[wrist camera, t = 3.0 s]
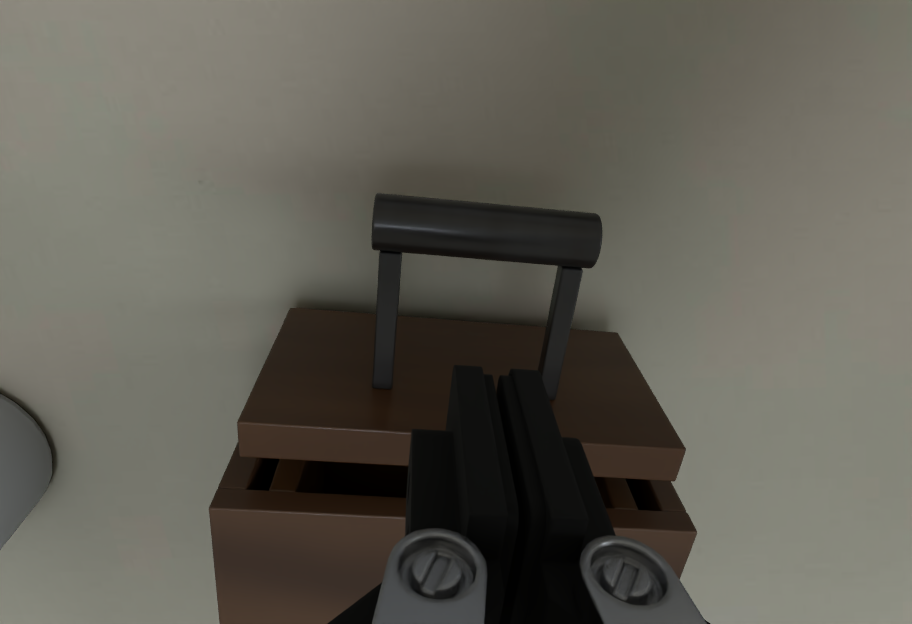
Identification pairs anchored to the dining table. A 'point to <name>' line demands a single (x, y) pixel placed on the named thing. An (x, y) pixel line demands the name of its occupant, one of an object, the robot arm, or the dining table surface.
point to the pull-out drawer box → (449, 362)
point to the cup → (20, 466)
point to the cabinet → (355, 543)
